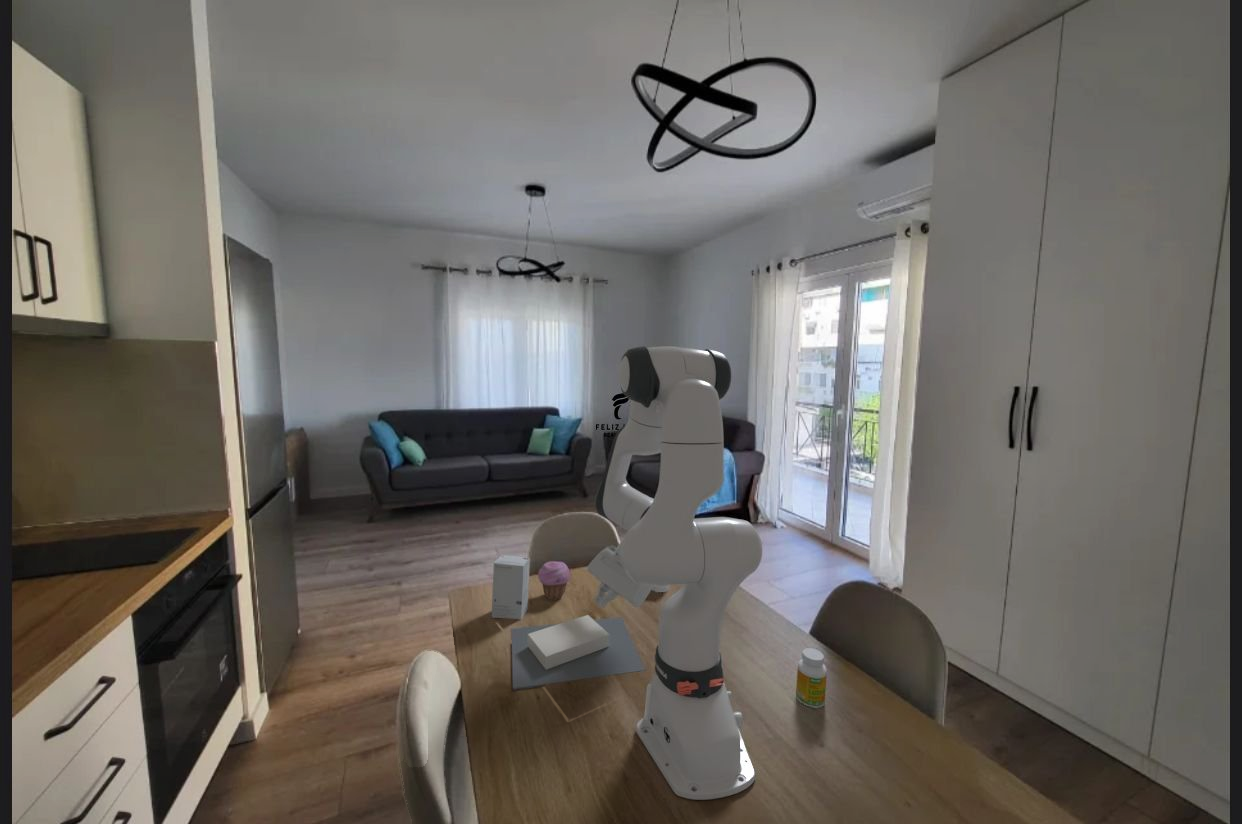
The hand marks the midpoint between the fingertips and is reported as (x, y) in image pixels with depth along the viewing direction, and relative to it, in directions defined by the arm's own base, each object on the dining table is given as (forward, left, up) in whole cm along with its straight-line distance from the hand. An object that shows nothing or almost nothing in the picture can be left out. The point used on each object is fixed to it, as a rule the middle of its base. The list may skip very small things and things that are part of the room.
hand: (598, 604), depth 114 cm
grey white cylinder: (+22, -23, -9) cm, 33 cm away
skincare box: (+16, +20, -9) cm, 27 cm away
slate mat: (-3, +6, -9) cm, 11 cm away
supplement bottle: (-29, -38, -9) cm, 49 cm away
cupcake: (+23, +8, -9) cm, 26 cm away
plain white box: (0, 0, -7) cm, 7 cm away
